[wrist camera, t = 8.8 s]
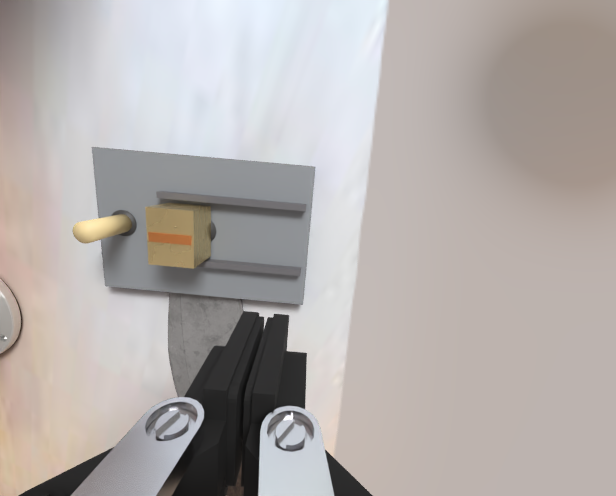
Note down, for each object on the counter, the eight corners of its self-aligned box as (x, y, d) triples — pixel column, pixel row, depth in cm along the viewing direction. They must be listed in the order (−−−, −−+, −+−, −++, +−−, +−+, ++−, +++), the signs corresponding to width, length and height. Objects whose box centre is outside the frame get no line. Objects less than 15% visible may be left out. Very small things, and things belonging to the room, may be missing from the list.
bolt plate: (303, 298, 31) (299, 329, 25) (115, 281, 32) (64, 307, 25) (315, 167, 28) (314, 164, 22) (103, 148, 28) (41, 140, 22)
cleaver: (266, 484, 39) (263, 501, 36) (195, 484, 39) (189, 501, 37) (242, 278, 32) (237, 285, 30) (157, 282, 32) (146, 289, 30)
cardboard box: (210, 256, 29) (193, 269, 25) (171, 252, 29) (147, 264, 25) (210, 206, 27) (192, 211, 23) (169, 202, 27) (144, 207, 23)
